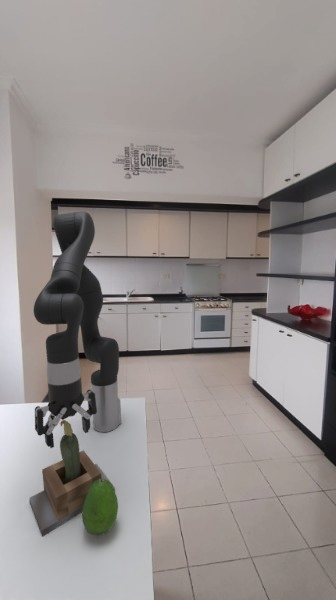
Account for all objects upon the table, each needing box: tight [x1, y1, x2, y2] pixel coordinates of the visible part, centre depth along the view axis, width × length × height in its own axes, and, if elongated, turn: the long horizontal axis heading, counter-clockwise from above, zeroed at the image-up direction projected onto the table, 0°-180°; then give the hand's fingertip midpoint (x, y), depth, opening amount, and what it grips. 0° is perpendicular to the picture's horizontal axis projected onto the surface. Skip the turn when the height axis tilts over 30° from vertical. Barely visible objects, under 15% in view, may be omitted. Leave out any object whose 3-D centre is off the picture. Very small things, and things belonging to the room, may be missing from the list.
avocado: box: [81, 479, 119, 536], centre depth 61 cm, size 8×8×12 cm
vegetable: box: [59, 419, 80, 484], centre depth 69 cm, size 4×4×20 cm
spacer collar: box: [28, 450, 116, 537], centre depth 70 cm, size 18×11×8 cm, turn 129°
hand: (69, 438), depth 68 cm, fingers open, 8 cm apart
